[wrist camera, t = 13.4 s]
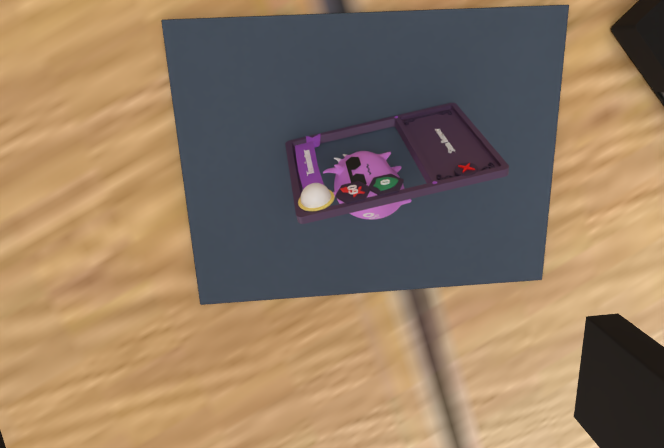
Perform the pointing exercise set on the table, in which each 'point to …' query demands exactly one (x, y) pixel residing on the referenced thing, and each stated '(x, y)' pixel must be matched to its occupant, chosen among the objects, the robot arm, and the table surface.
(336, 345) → the table surface
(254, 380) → the table surface
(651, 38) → the vhs tape
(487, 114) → the mat
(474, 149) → the game card
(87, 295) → the table surface
